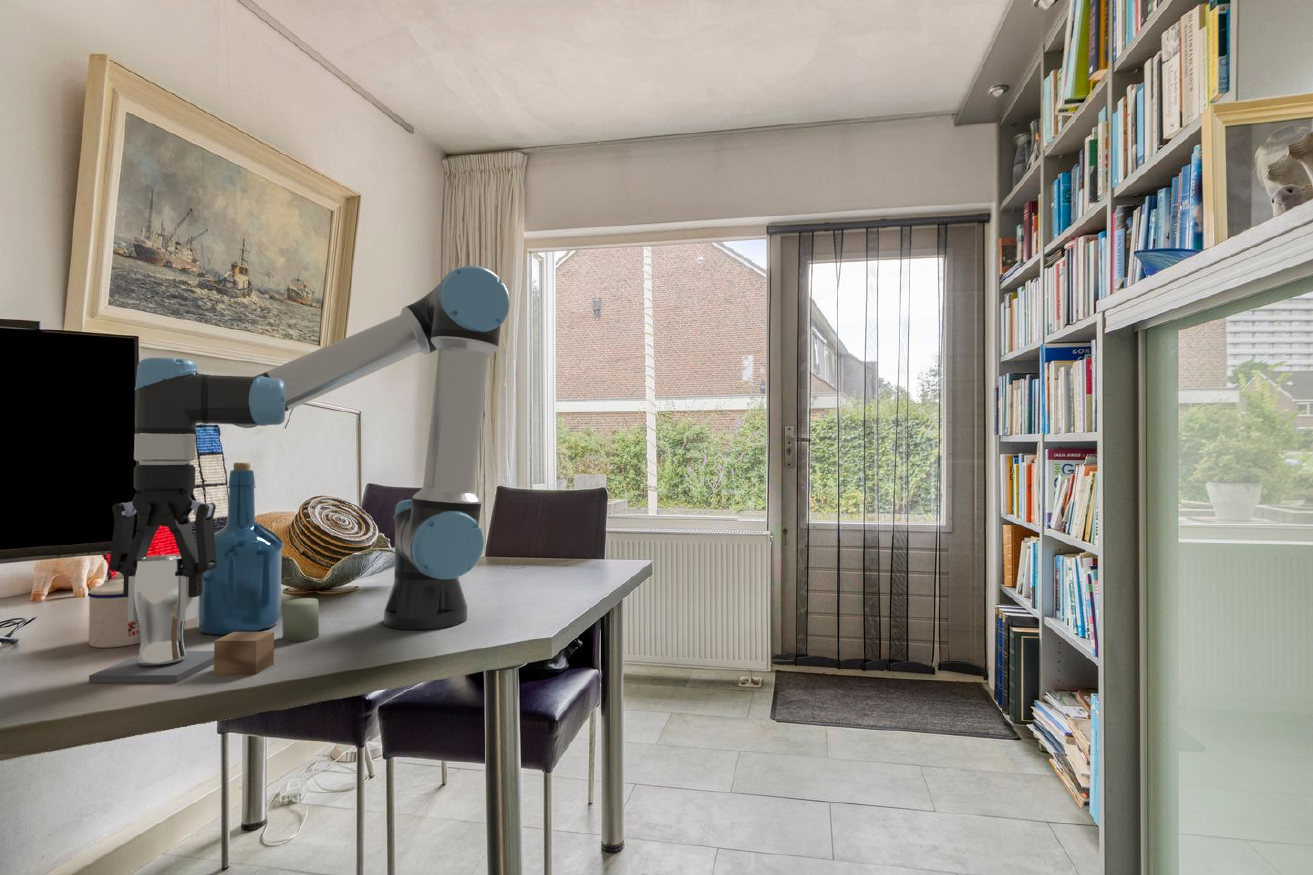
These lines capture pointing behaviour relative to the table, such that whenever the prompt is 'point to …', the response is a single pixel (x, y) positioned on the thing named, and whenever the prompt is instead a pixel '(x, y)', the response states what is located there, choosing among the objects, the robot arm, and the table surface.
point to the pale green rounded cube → (300, 619)
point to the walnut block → (243, 653)
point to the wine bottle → (242, 567)
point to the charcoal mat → (154, 670)
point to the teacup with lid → (111, 616)
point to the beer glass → (159, 609)
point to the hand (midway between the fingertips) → (162, 618)
